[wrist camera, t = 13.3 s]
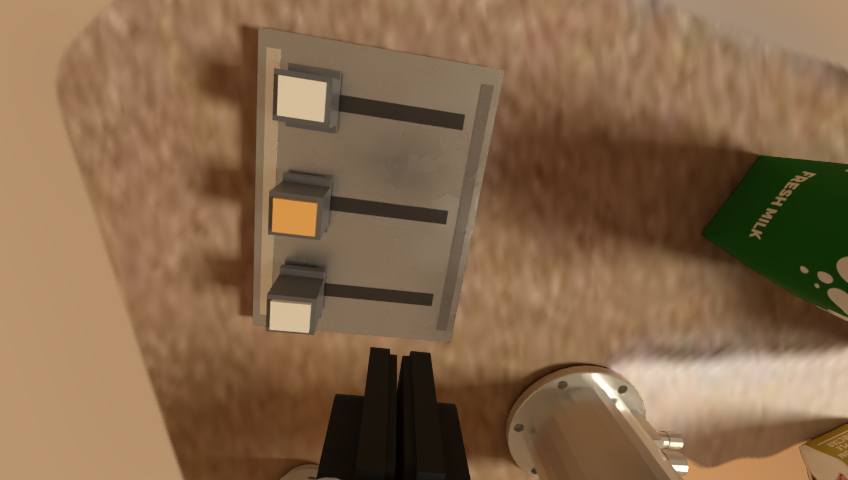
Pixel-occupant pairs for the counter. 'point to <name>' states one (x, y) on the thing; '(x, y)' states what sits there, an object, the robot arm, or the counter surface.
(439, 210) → the panel
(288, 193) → the block
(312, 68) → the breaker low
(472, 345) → the counter surface
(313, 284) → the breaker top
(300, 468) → the energy drink can
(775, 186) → the milk carton
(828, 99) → the counter surface
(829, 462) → the juice carton
